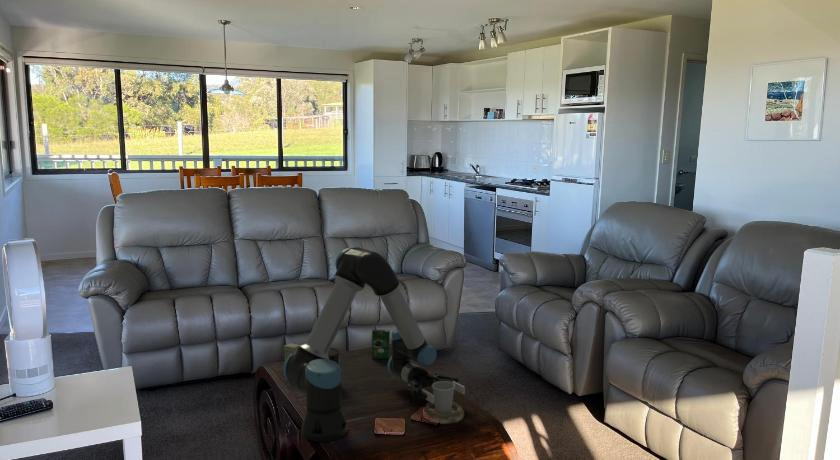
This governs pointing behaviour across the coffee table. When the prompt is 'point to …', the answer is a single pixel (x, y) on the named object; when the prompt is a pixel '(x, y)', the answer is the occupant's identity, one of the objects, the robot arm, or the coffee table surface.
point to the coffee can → (334, 355)
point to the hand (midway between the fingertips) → (449, 395)
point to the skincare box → (290, 349)
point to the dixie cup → (443, 396)
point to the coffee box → (380, 344)
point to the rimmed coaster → (453, 417)
